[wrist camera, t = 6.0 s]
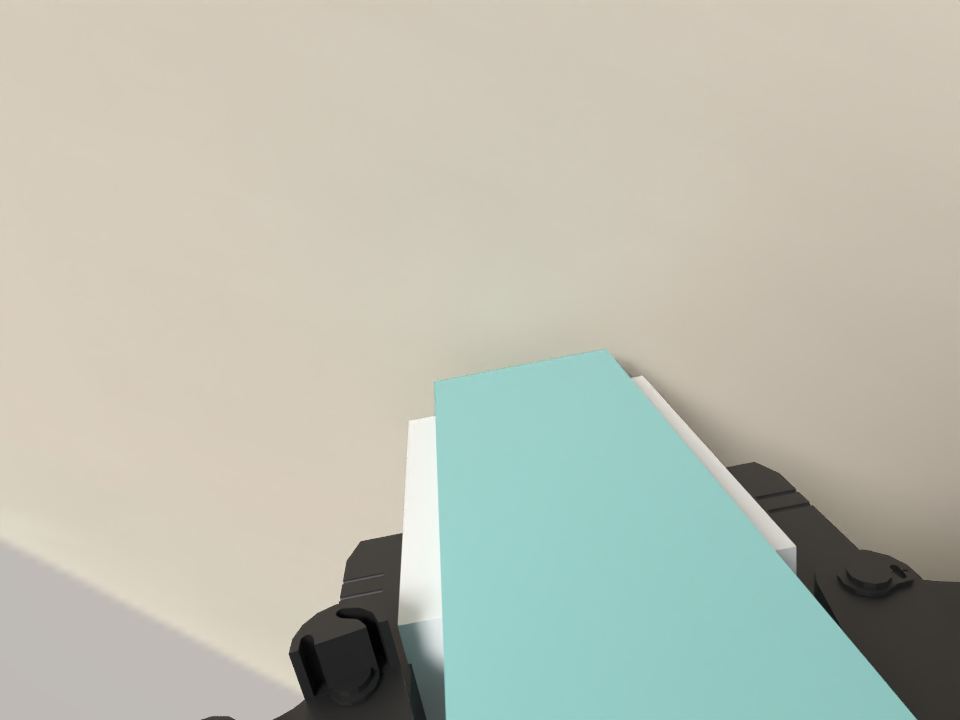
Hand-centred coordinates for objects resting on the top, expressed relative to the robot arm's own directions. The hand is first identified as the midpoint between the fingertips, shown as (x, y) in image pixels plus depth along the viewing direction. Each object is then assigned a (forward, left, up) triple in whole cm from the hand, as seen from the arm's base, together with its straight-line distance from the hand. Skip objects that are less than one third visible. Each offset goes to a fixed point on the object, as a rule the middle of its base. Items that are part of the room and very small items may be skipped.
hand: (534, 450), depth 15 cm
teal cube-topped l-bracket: (+9, +4, 0) cm, 10 cm away
